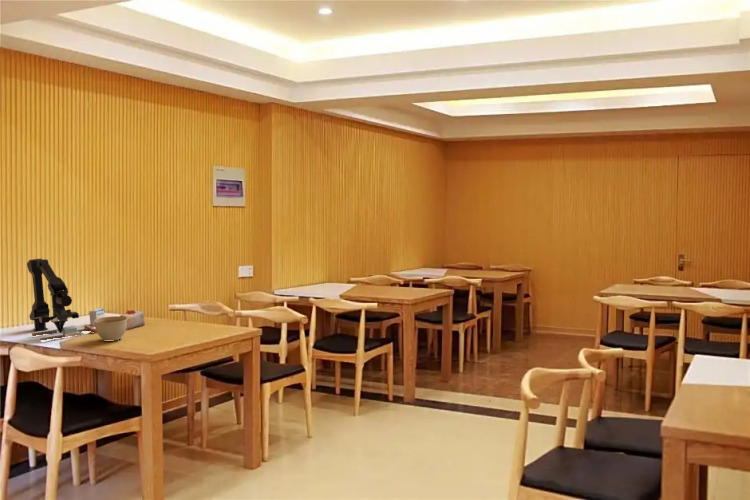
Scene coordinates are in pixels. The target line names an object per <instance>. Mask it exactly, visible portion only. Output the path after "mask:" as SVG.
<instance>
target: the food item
mask: <svg viewBox="0 0 750 500" xmlns="http://www.w3.org/2000/svg"><path fill="white" fill-rule="evenodd" d="M119 316H121V317H127V318H128V320H127V328H126V330H127V331H128V330H129V331H130V330H131V329H135V328H140V327H143V326H145V325H146V324H145V315H144V312H143V311H141V310H136V311H135V310H133V309H132V310H129V309H127V310H126V311H125V313H124V314H123V313H122V314H121V315H119Z"/></svg>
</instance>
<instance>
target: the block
mask: <svg viewBox="0 0 750 500" xmlns="http://www.w3.org/2000/svg"><path fill="white" fill-rule="evenodd" d="M77 330H78V328H77V327H76V326H75V325H72V326H63V329H62V333H61V335H62V334H69V333H76V332H78V331H77Z"/></svg>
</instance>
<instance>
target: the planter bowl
mask: <svg viewBox="0 0 750 500" xmlns="http://www.w3.org/2000/svg"><path fill="white" fill-rule="evenodd" d="M127 320H128V318H127V317H121V316H120V315H119V316H116V315H115V316H104V318H99V319H96V320H94V323H95V326H94V328H95V329H96V331H97V333H96V334H98V336H99V337H100V338H101V341H102V340H118V341H120V340H119V339H121V340H123V337H124V334H125V333H126V328H127Z"/></svg>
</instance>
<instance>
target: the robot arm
mask: <svg viewBox="0 0 750 500" xmlns="http://www.w3.org/2000/svg"><path fill="white" fill-rule="evenodd" d="M26 267H27V270H28V272H29V273H30V275H31V276H32V277H31V278H32V285H33V296H34V297H33V299H34V301H33V304H32V306H31V311H30V314H29V315H28V316H29V320H31V321H33V324H34V327H33V328H32V330H33V331H35V332H42V331H48V330H49V328H48V327H47V325H46V324H47V323H49V322H51V323H53V324H54V325H55V327H56V329H58V331H59V333H58V334H62V329H63V327H65V323H66V322H68V321H69V319H68V318H71V319H79V318H80V315H79V313H78V311H72V309H69V308H68V309H66V307H68V306H71V304H72V303H73V298H72V297H71V296H70V295H69V289H68V287H67V286H66V283H65V282H64V281H63V280H62V278H61V277H58V276H57V275H56V274H55V272H54V269H53V268H52V266H51V265H50V263H49V260H48V259H46V258H45V259H43V258H33V259H29V260H28V261H27V262H26ZM43 276H44V277H45V280H46V281H47V289H48V290H49V292H50V296H51V308H52V316H50V311H51V310H50V307H49V304H48V303H47V302H46V301H45V295H44V294H45V293H44V284H43Z"/></svg>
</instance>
